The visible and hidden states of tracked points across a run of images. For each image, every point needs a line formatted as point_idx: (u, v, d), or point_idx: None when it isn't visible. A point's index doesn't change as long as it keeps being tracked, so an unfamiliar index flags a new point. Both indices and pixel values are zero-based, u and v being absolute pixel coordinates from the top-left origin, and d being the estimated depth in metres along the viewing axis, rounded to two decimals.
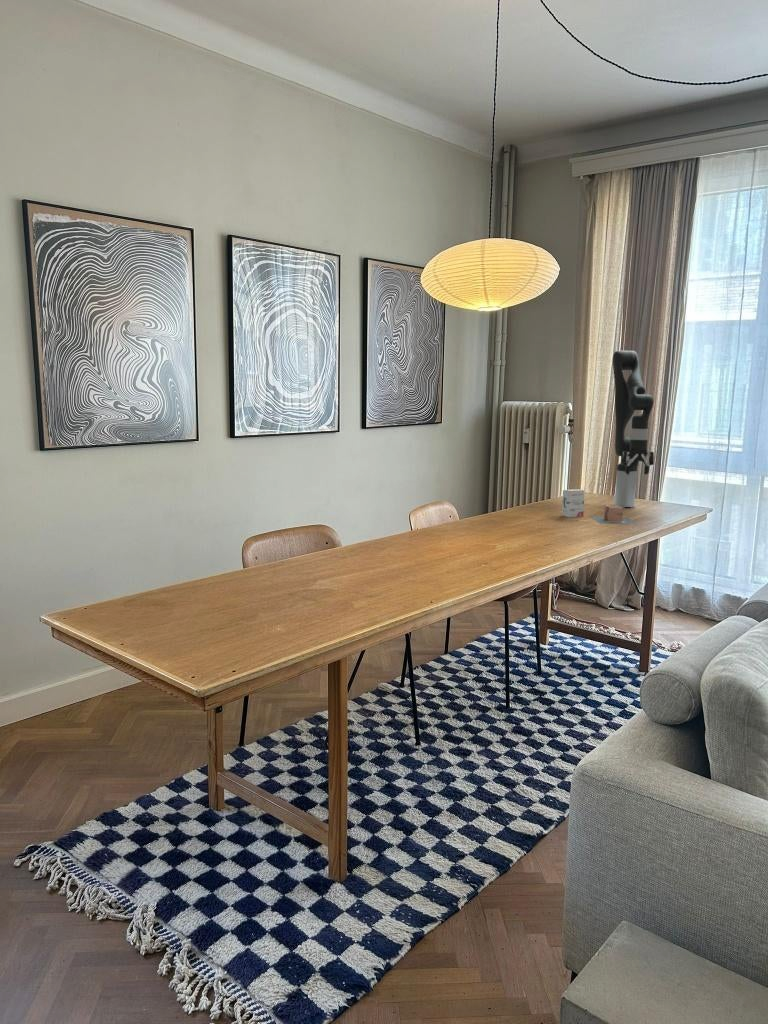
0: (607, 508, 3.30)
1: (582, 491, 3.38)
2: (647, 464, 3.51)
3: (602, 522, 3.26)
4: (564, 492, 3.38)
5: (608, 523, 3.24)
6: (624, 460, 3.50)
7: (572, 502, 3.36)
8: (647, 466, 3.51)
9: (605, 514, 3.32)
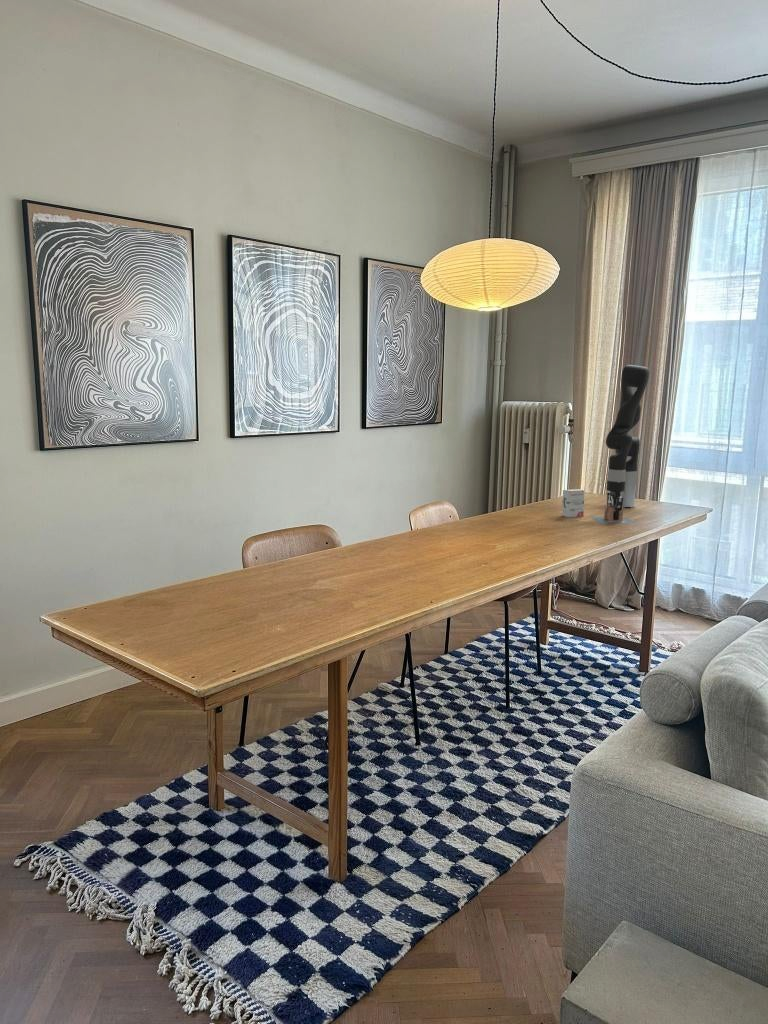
0: (607, 508, 3.30)
1: (582, 491, 3.38)
2: None
3: (602, 522, 3.26)
4: (564, 492, 3.38)
5: (608, 523, 3.24)
6: None
7: (572, 502, 3.36)
8: None
9: (605, 514, 3.32)
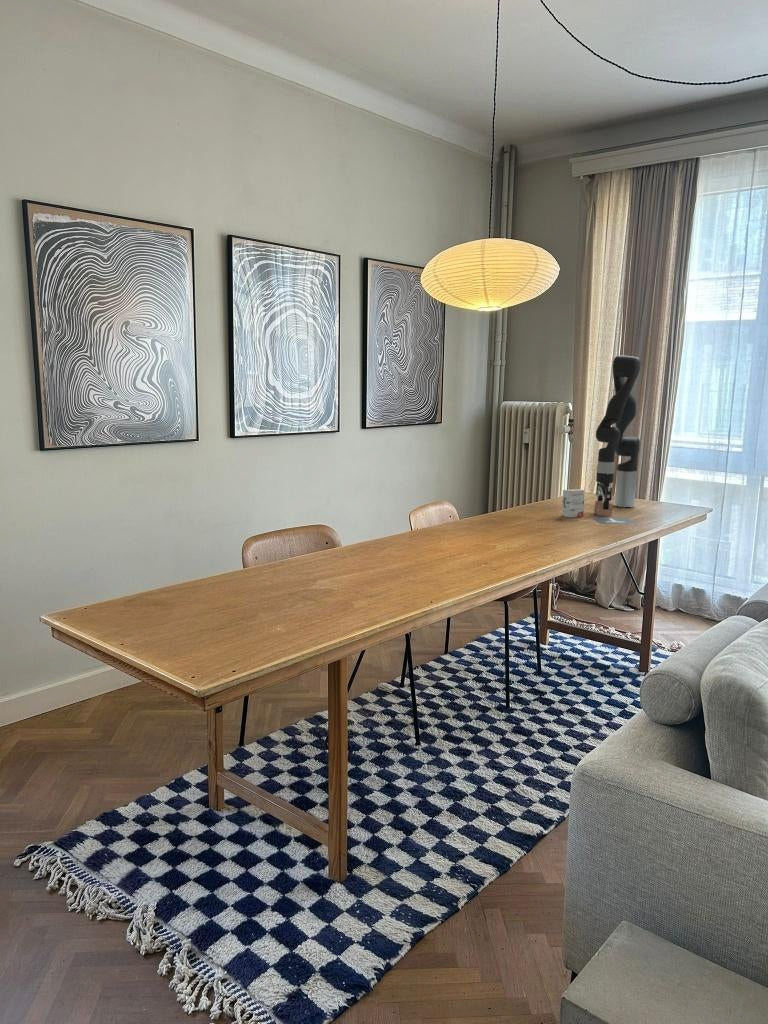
0: (597, 503, 3.44)
1: (582, 491, 3.38)
2: None
3: (602, 522, 3.26)
4: (564, 492, 3.38)
5: (608, 523, 3.24)
6: None
7: (572, 502, 3.36)
8: (602, 497, 3.48)
9: (595, 509, 3.46)
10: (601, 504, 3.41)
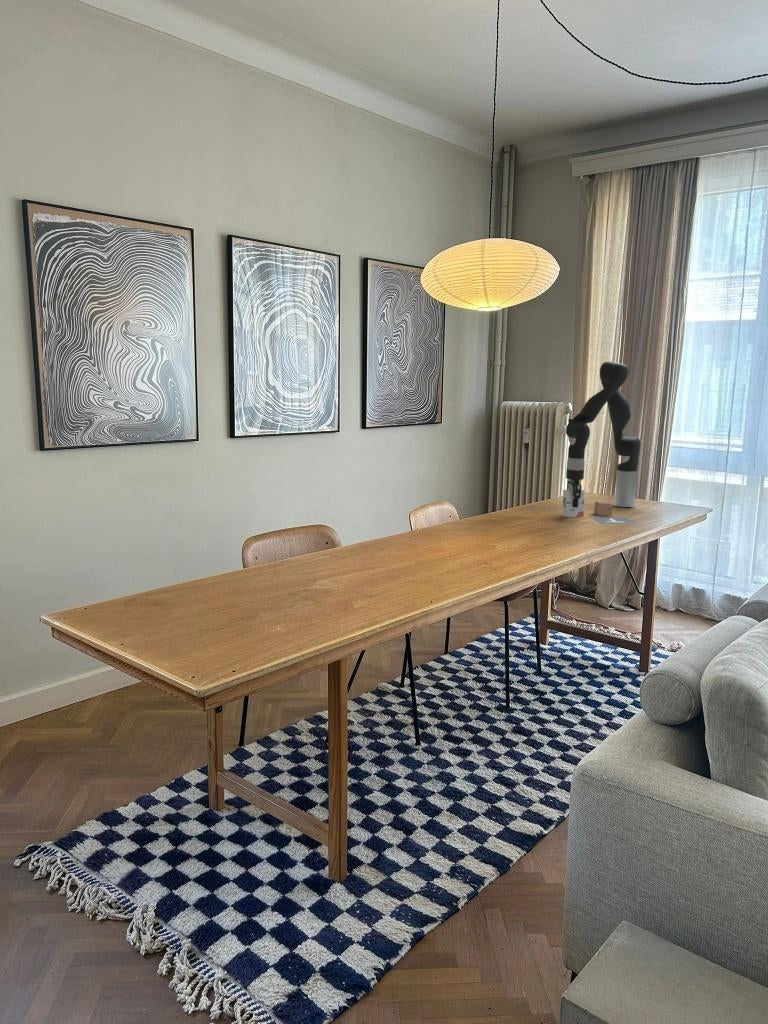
0: (597, 503, 3.44)
1: (582, 491, 3.38)
2: None
3: (602, 522, 3.26)
4: (564, 492, 3.38)
5: (608, 523, 3.24)
6: None
7: (572, 502, 3.36)
8: None
9: (595, 509, 3.46)
10: (601, 504, 3.41)
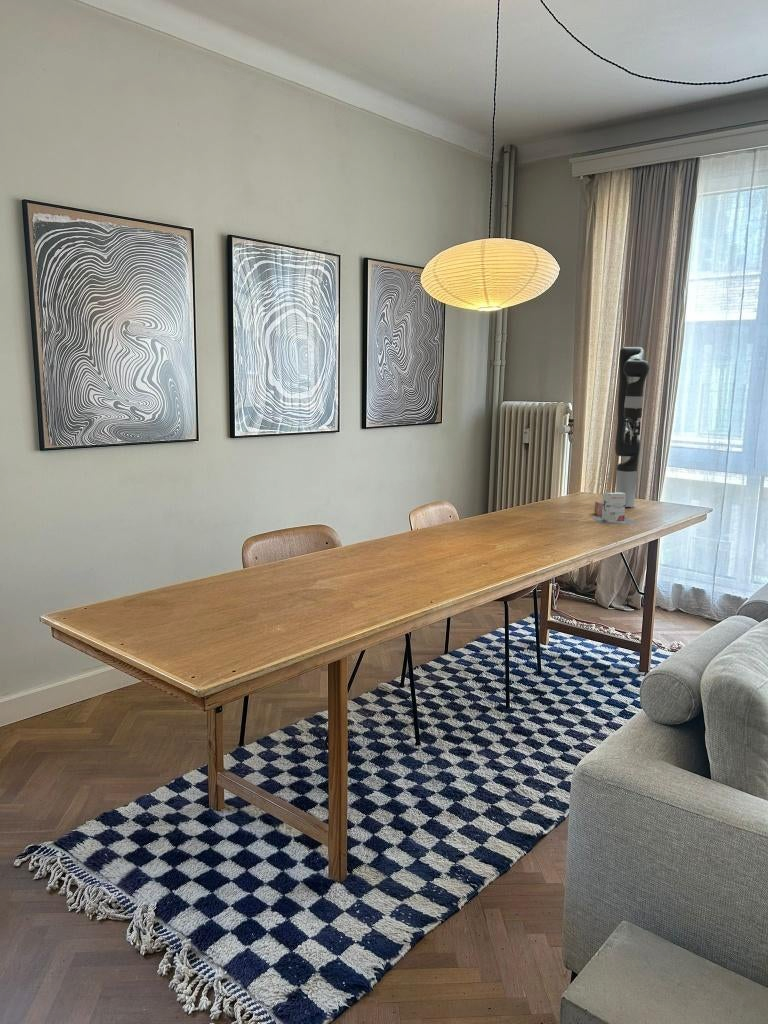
0: (597, 503, 3.44)
1: (623, 494, 3.28)
2: (630, 432, 3.43)
3: (602, 522, 3.26)
4: (604, 495, 3.29)
5: (608, 523, 3.24)
6: None
7: (612, 505, 3.27)
8: None
9: (595, 509, 3.46)
10: (601, 504, 3.41)
